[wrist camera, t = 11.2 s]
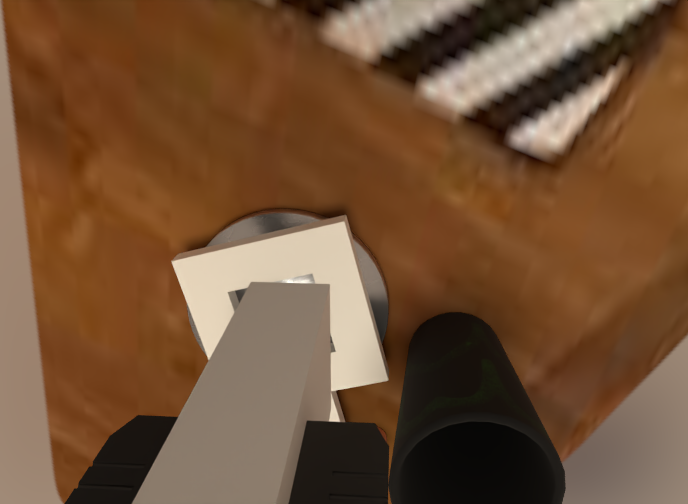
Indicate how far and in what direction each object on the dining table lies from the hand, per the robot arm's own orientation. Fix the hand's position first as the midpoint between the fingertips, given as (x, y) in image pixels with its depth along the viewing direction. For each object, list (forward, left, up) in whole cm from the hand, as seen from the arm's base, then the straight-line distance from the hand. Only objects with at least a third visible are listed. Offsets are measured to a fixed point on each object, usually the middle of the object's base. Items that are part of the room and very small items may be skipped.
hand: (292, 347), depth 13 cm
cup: (+14, -6, -25) cm, 29 cm away
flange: (+8, -12, -23) cm, 27 cm away
